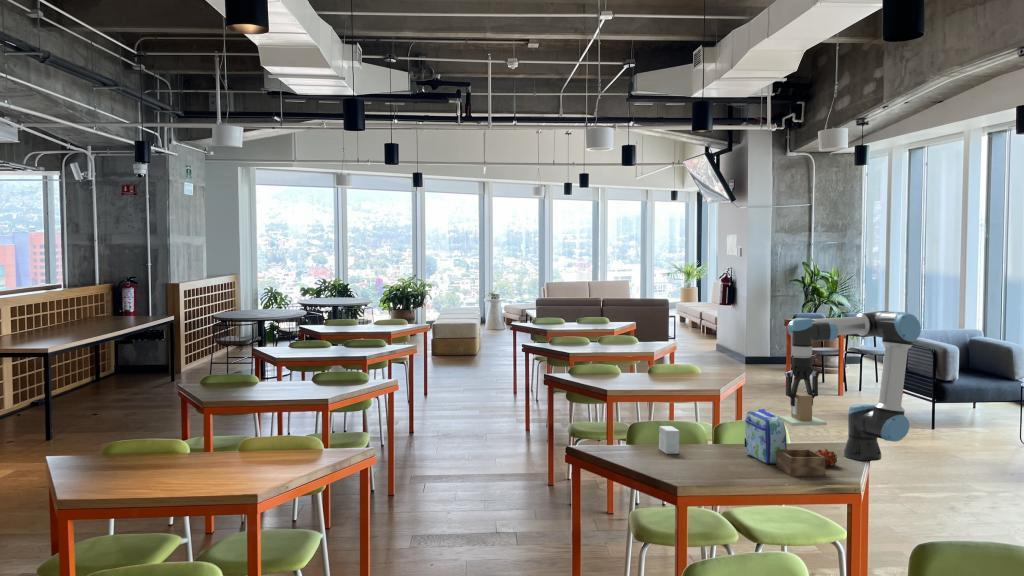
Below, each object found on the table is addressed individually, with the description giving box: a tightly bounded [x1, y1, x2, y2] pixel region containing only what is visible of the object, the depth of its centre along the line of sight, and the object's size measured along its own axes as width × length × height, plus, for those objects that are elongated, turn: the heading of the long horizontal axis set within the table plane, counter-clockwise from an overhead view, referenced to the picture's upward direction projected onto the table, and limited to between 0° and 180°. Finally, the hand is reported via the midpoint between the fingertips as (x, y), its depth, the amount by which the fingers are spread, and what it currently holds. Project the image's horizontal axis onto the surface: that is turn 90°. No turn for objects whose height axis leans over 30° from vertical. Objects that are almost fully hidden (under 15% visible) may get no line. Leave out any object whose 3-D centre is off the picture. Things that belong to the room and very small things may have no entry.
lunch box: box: [744, 408, 788, 465], centre depth 342 cm, size 26×11×21 cm, turn 3°
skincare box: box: [658, 425, 680, 455], centre depth 357 cm, size 10×6×10 cm, turn 7°
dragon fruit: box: [815, 448, 838, 469], centre depth 329 cm, size 8×8×12 cm
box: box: [775, 448, 826, 477], centre depth 321 cm, size 14×14×8 cm
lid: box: [777, 392, 828, 427], centre depth 320 cm, size 14×14×11 cm
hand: (801, 413), depth 320 cm, fingers closed on lid, 5 cm apart
